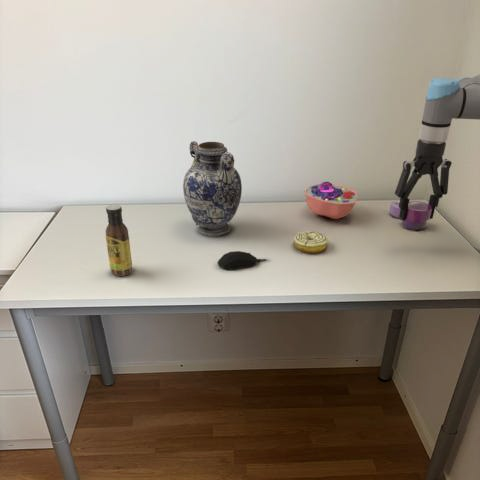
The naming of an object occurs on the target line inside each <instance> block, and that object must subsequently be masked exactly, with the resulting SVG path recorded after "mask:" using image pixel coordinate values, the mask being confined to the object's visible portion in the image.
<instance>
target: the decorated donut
mask: <svg viewBox="0 0 480 480" xmlns="http://www.w3.org/2000/svg"><path fill="white" fill-rule="evenodd" d="M328 239H329V238H328V237H327V236H326V235H325V234H323V233H320V232H317V231H299V232H298V233H296V234H295V236H294V237H293V244H294V246H295V248H296V249H297V250H299V251H300V252H303V253H305V254H307V253H308V254H316V253H317V254H318V253H320V252H322V251H324V250H326V248H327V246H328V244H329V240H328Z"/></svg>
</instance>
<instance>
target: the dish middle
mask: <svg viewBox="0 0 480 480" xmlns="http://www.w3.org/2000/svg"><path fill="white" fill-rule="evenodd" d="M427 222H428V220H427V221H425V222H421V223H416V222H411V221H408V220H407V219H406V220H405V221H403V220H402V219H401V222H400V224H401V225H402V226H403V227H404V228H405V229H408V230H411V231H419V230H422V229H425V228H426V226H427V224H428V223H427Z"/></svg>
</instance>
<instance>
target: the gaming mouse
mask: <svg viewBox="0 0 480 480" xmlns="http://www.w3.org/2000/svg"><path fill="white" fill-rule="evenodd" d="M262 261H267V259H266V258H257V257H256V256H254V255H252V254H251V253H250V252H246V251H240V250H236V251H228V252H226V253H224V254H223V255H222V256H221V257H220V258H219V259H218V260H217V265H218V267H220V268H223V269H226V270H237V269H245V268H250V267H254V266H255V265H257V262H262Z"/></svg>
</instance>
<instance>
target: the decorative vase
mask: <svg viewBox="0 0 480 480" xmlns="http://www.w3.org/2000/svg"><path fill="white" fill-rule="evenodd" d="M188 148H189V154H190V156H191V158H193V160H192V163H191V166H190V168H189V169H188V170H187V171H186V172H185V175H184V178H183V182H182V183H183V184H182V190H183V197H184V202H185V205H186V207H187V209H188V211H189V213H190V214H191V215H190V216H191V218H192V220H193V222H194V224H195V226H198V232H199V234H201V235H203V236H207V237H221V236H224V235H227V234H228V233H230V231H231V225H230V224H229V222H231V220H233V218H234V217H235V215H236V213H237V211H238V210H239V209H238V208H239V206H240V203H241V199H242V191H243V189H242V187H243V186H242V177H241V175H240V173H239V172H238V170H237V169H236V168H235V157H234V155H233V154H232V153H231V152H229V151H228V148H227V147H226V146H225V144H224V143H222V142H219V141H205V142H201V143H199V144H198V142H197V141H195V140H192V141H190V143H189V147H188Z"/></svg>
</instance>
